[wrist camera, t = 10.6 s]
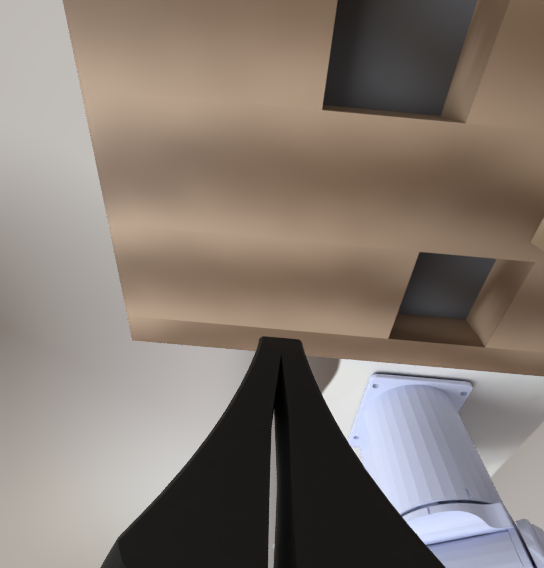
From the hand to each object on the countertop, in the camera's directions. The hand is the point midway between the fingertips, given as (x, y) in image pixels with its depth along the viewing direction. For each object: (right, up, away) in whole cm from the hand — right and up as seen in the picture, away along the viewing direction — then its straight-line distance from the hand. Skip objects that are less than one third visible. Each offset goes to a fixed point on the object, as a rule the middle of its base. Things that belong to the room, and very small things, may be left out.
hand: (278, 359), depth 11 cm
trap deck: (+6, +9, +7) cm, 12 cm away
